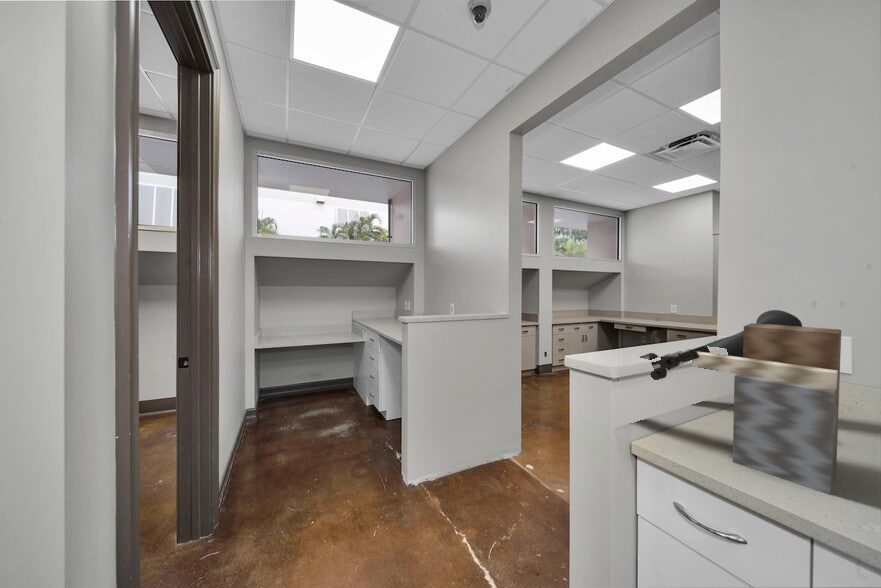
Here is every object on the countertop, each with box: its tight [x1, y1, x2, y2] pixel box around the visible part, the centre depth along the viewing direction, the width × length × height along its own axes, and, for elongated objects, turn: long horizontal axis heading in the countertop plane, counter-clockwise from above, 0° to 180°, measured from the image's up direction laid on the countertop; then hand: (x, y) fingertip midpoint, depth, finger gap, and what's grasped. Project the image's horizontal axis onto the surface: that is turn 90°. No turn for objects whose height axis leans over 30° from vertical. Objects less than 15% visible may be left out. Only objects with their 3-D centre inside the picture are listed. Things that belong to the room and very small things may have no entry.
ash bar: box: [692, 351, 838, 391], centre depth 76 cm, size 24×4×4 cm, turn 36°
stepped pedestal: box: [732, 322, 842, 495], centre depth 75 cm, size 15×16×32 cm
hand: (702, 351), depth 84 cm, fingers open, 8 cm apart
